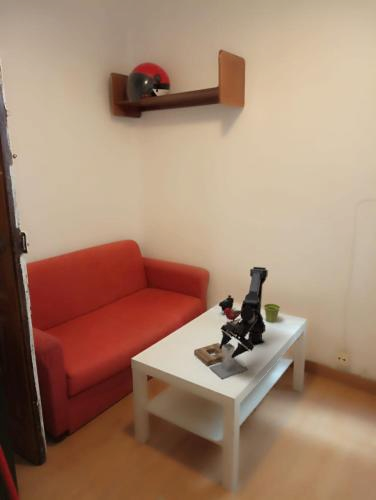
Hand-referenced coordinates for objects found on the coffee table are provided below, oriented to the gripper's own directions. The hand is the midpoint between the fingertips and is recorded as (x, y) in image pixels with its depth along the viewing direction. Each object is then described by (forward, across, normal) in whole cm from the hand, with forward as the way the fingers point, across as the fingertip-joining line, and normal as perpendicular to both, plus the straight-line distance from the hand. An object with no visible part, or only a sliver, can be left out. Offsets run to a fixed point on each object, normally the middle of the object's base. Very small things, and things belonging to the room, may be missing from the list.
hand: (225, 352), depth 164 cm
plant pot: (-31, -29, +43) cm, 61 cm away
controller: (-19, -52, +32) cm, 64 cm away
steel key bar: (+5, 0, +7) cm, 8 cm away
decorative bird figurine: (-17, -39, +30) cm, 52 cm away
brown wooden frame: (+5, -13, +7) cm, 16 cm away
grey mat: (+5, 0, +7) cm, 9 cm away
